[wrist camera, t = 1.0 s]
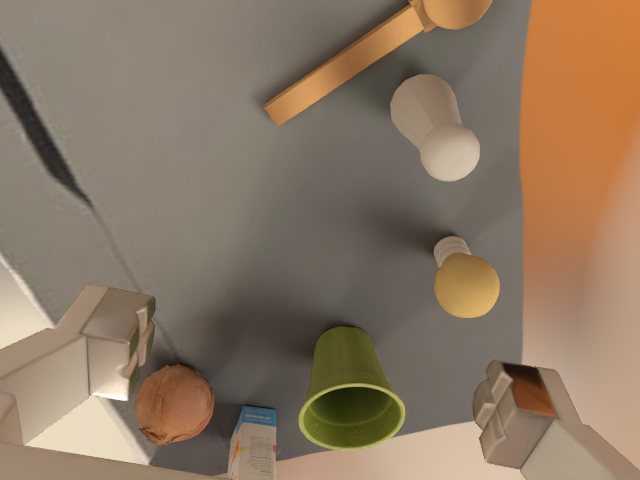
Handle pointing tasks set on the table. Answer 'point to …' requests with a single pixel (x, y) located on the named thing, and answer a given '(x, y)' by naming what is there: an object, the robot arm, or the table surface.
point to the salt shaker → (435, 126)
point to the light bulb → (463, 280)
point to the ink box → (253, 445)
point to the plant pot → (349, 394)
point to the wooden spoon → (373, 50)
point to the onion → (174, 404)
